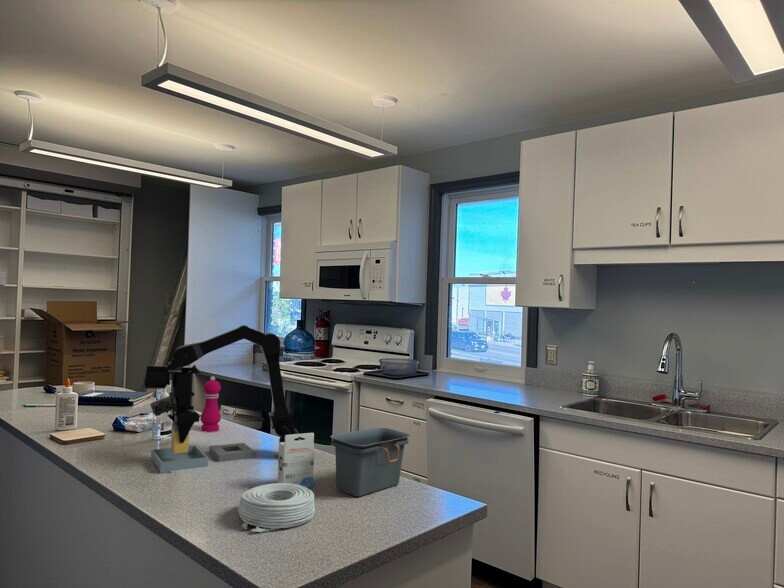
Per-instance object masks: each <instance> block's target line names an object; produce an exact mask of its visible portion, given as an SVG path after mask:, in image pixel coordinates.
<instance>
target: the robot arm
mask: <svg viewBox="0 0 784 588" xmlns="http://www.w3.org/2000/svg"><path fill="white" fill-rule="evenodd" d="M241 340H247V341H249V342H251V343H253V344H256V345H258V346H260V349H261V352H262V354H263V357H264V359H265V362H266V367H267V374H268V379H269V380H268V381H269V387H270V392H271V399H272V411H271V412H270V411H269V412H268V415H269V418H270V421H269V425H270V426H271V429H272V430H274V432H275V434H276V435H277V436H279V438H278V443H279V442H285V435H292V434H300V433H299V432H298V430H297V428H295V427H294V424H293V420H292V418H291V415H290V413H289V412H290V411H289V409H288V407H287V405H286V397H285V391H284V386H283V385H284V384H283V378H282V372H281V365H280V356H281V340H280V338H279V336H277V334H275V333H272V332H265V333H263V332H261V331H258V330H256V329H255V328H251V327H249V326H248V325H245V324H244V325H240V326H238V327H236V328H234V329H232V330H229V331H226V332H224V333H221V334H219V335H216V336H213V337H210V338H208V339H206V340H203V341H200V342H192V343H188V344H183V345H181V346H178V347H177V348H176V349H175V351H174V352H173V357H172V359H171V361H169V362H168V363H167V365H154V364H148V365H147V366H146V371H145V372H146V373H145V377H144V389H151V390H152V389H153V390H154V389H156V390H157V389H167V387H168V386H170V385H172V387H171V388H172V389H171V390H170V392H169V395H168V396H166V397H163V398H161V399H157V400H156V401H153V402H151V403H150V404H149V405H150V408H151V410H152V414H153V415H154V416H155V417H157V416H162V414H164V413H166V414H167V417H168V418H169V419H170V420H171V421H172V423H175V424H176V425H177V426H178V433H179V441H180V443H184V441H185V439H186V437H187V435H188V433H189V434H190V431H191V429H192V427H193V426H194V425H195V423H199V422H200V418H201V414H199V413H198V412H197V411H196V410H194V407H195V406H194V405H193V397H194V396H195V391H194V389H193V387H194V374H195V375H196V374H200V372H201V370H200V369H199V368H198V367H197V365H196V364H193V363H195V362H196V361H198V360H200V359H201V358H202V357H204V356H205V355H207V354H210V353H212V352H215V351H216V350H219V349H222V348H224V347H226V346H227V347H228V346H230V345H231V344H234V343H237V342H239V341H241ZM191 364H193V365H192V366H191V367H189V366H190V365H191ZM180 367H181V369H180V370H179V369H178V368H180ZM176 369H177V370H176ZM171 375H172V376H171ZM171 377H172V384H171ZM169 412H170V414H169ZM299 439H300V437H299V438H295V439H294V440H295V441H299ZM274 457H275V458H277V460H279V454H275V455H274Z"/></svg>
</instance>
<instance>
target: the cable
mask: <svg viewBox="0 0 784 588" xmlns="http://www.w3.org/2000/svg"><path fill="white" fill-rule="evenodd" d="M238 504H239V505H238V506H237V512H238V515H239V517H240V519H241V520H242V521H243V523H242V525H241V528H242V530H243V529H246V528H247V529H248V526H249V525H250V526H255V528H252V529H250V531H249V533H250V534H253V533H252V532H261V533H264V532H263V531H267V530H271V529H278V528H283V529H287V528H294V527H298V526H301V525H304V524H305V523H307V522H309V521H311V519H312V518H313V517H314V516H315V512H316V508H315V493H314V492H313V491H312V490H311V489H310V488H306V487H304V486H301V485H298V484H292V483H278V482H277V483H269V484H268V483H267V484H262V485H257V486H255V487H253V488H250V489H247V490H246V491H245V492H243V493H242V494H241V497H240V499H239V503H238ZM278 530H279V529H278ZM267 532H268V531H267Z"/></svg>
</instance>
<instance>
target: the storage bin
mask: <svg viewBox="0 0 784 588" xmlns="http://www.w3.org/2000/svg"><path fill="white" fill-rule="evenodd" d="M329 437H330V438H331V439H332V441H331V443H330V445H331V446H332V447H334V449H335V450H334V451H335V475H336V476H335V484H336V485H335V486H336V487H335V488H336V489H337V490H338V491H341V492H343V493H346V494H348V495H352V496H354V497H357V496H358V497H362V496H366V495H368V494H371V493H374V492H378V490H379V491H382V490H386V489H389V488H392V487H391V486H393V487H396V486H398V485H399V483H400V476H401V471H402V470H401V469H402V465H403V457H404V450H405V445H407V444H409V439H408V438H409V437H411V434H409V433H407V432H404V431H399V430H395V429H392V428H388V427H373V428H367V429H362V430H360V429H359V430H354V431H348V432H347V431H346V432H342V433H336V434H332V435H330V436H329ZM395 485H396V486H395ZM388 487H389V488H388ZM385 488H386V489H385ZM381 489H382V490H381Z"/></svg>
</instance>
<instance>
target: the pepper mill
mask: <svg viewBox="0 0 784 588" xmlns="http://www.w3.org/2000/svg"><path fill="white" fill-rule="evenodd" d="M221 388H222V387H221V384H220V382H219V381H217V380H216V378H215V376H213V375H212V376H210V378H209V380H208V381H206V382H205V383H204V385H203V391H204V398H205V404H204V407H203V410H202V412H201V414H200V417H199V421H200V422H201V423H202V425H200V426H201V428H200V431H201V432H204V431H207V432H206V433H214V432H213V431H215V432H218V431H219V430H220V425H219V423H220V422H221V418H222V416H221V412H220V409H219V405H218V398H219V396H220V394H219V392H220V391H221ZM217 430H218V431H217Z"/></svg>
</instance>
